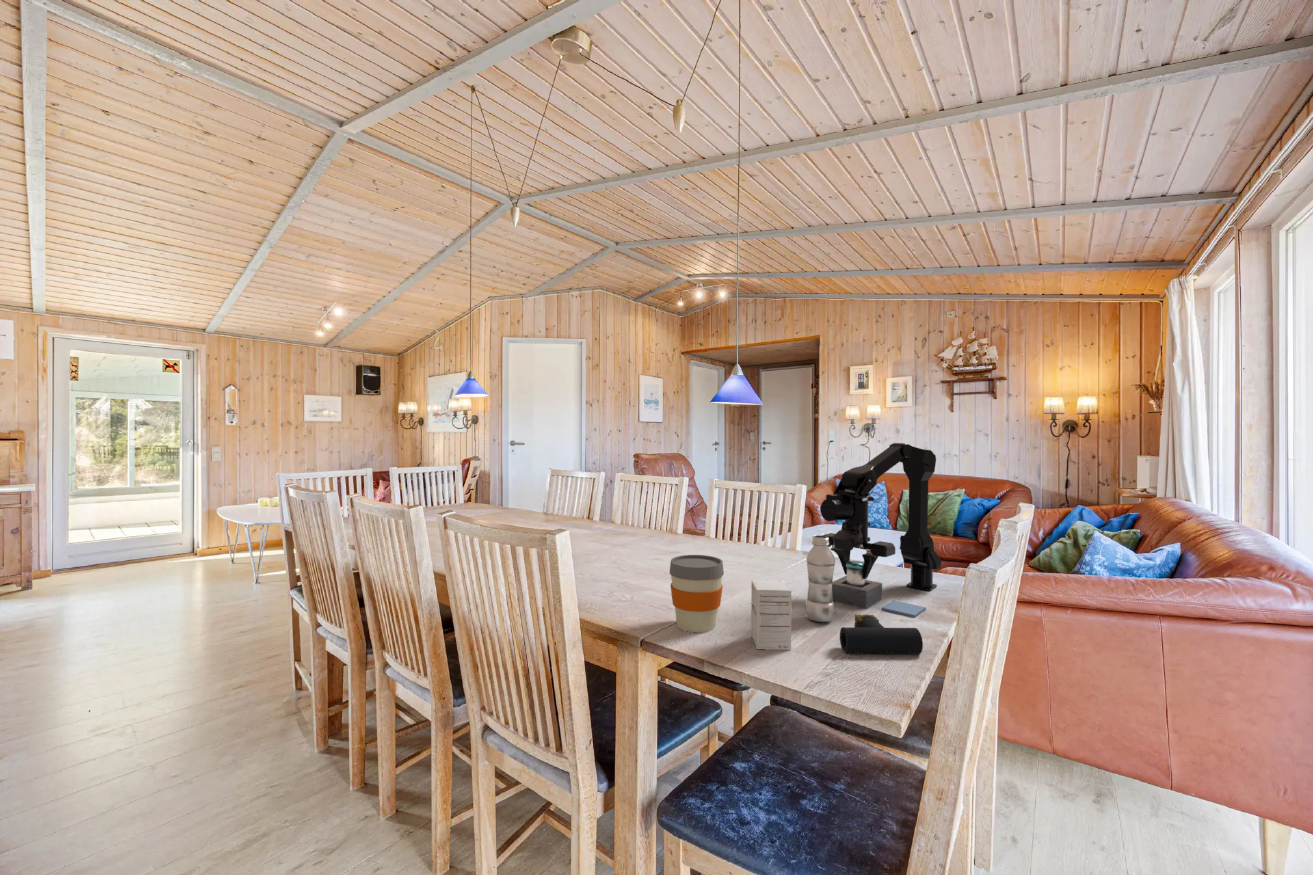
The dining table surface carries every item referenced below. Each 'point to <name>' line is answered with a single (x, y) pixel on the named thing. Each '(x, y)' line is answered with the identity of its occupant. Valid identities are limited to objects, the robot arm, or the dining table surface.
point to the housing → (857, 593)
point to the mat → (903, 608)
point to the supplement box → (771, 615)
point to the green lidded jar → (855, 573)
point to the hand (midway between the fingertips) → (855, 576)
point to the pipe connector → (879, 638)
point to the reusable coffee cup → (696, 591)
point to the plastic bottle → (820, 581)
